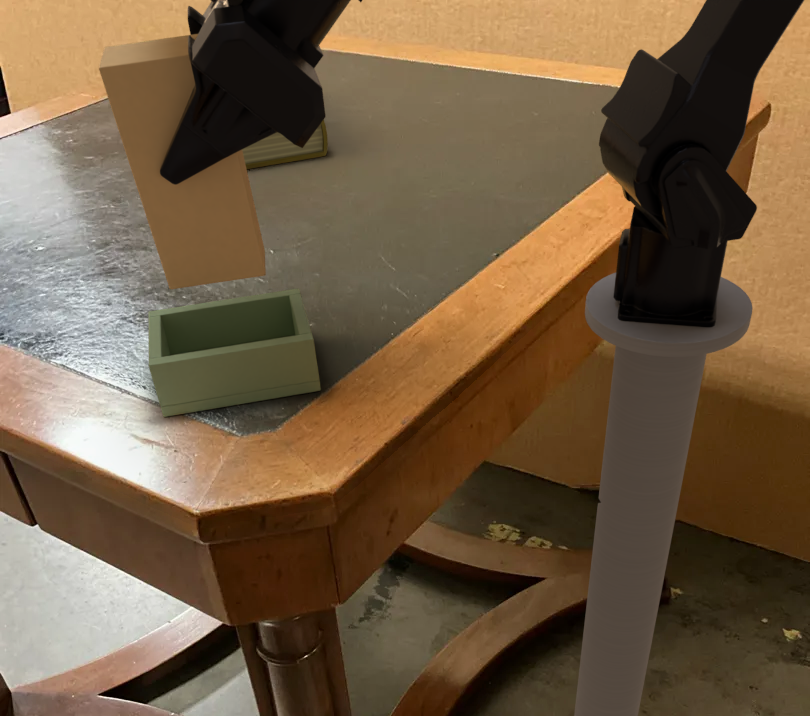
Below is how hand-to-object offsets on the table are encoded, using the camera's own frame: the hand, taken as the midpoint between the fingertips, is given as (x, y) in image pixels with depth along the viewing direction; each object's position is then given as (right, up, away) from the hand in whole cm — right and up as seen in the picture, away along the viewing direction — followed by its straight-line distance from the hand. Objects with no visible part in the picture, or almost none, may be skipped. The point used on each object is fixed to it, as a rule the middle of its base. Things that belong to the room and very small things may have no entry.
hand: (167, 168), depth 51 cm
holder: (+2, -10, +8) cm, 14 cm away
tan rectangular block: (+2, -4, +5) cm, 7 cm away
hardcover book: (-3, +22, +45) cm, 50 cm away
